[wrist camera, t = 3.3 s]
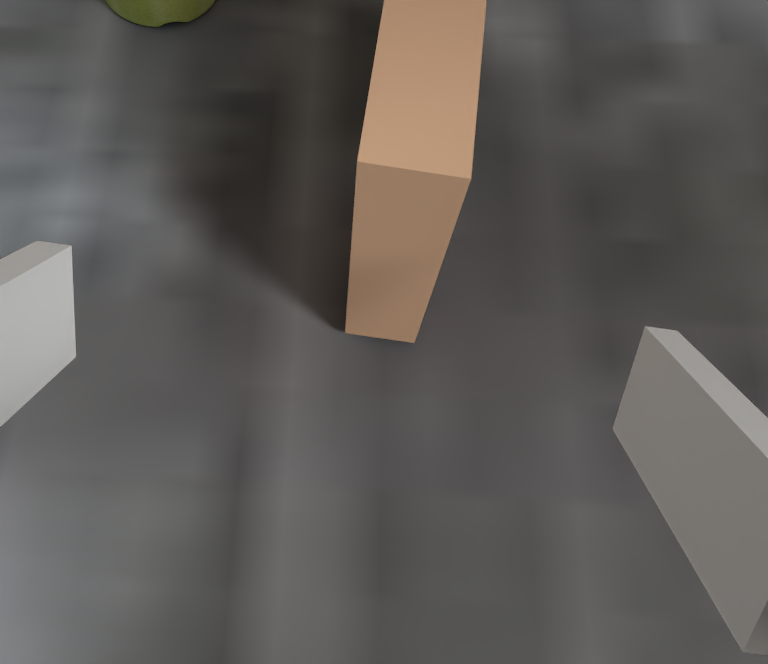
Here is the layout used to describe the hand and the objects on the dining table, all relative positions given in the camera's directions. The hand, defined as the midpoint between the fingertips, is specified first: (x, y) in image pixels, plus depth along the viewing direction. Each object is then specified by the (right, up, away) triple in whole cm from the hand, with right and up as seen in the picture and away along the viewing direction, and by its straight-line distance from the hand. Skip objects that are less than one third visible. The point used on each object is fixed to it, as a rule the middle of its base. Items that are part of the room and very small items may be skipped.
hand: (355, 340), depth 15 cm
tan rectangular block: (+1, +3, +15) cm, 15 cm away
